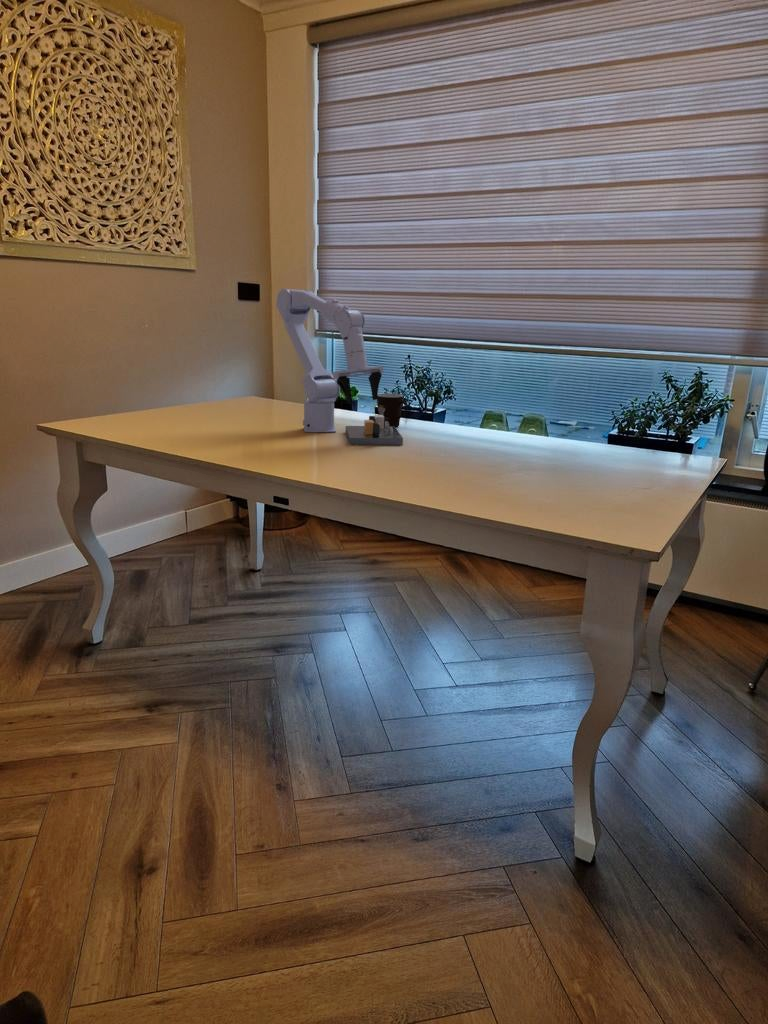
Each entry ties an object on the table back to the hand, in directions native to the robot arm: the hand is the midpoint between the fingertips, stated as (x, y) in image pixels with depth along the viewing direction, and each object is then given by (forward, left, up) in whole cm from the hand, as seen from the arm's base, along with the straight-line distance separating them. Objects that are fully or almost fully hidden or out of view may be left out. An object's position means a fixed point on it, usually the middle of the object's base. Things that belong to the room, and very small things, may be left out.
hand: (362, 401), depth 189 cm
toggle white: (+6, +8, -9) cm, 14 cm away
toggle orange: (+2, -1, -9) cm, 9 cm away
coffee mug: (+11, +20, -11) cm, 25 cm away
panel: (+3, +2, -11) cm, 12 cm away
